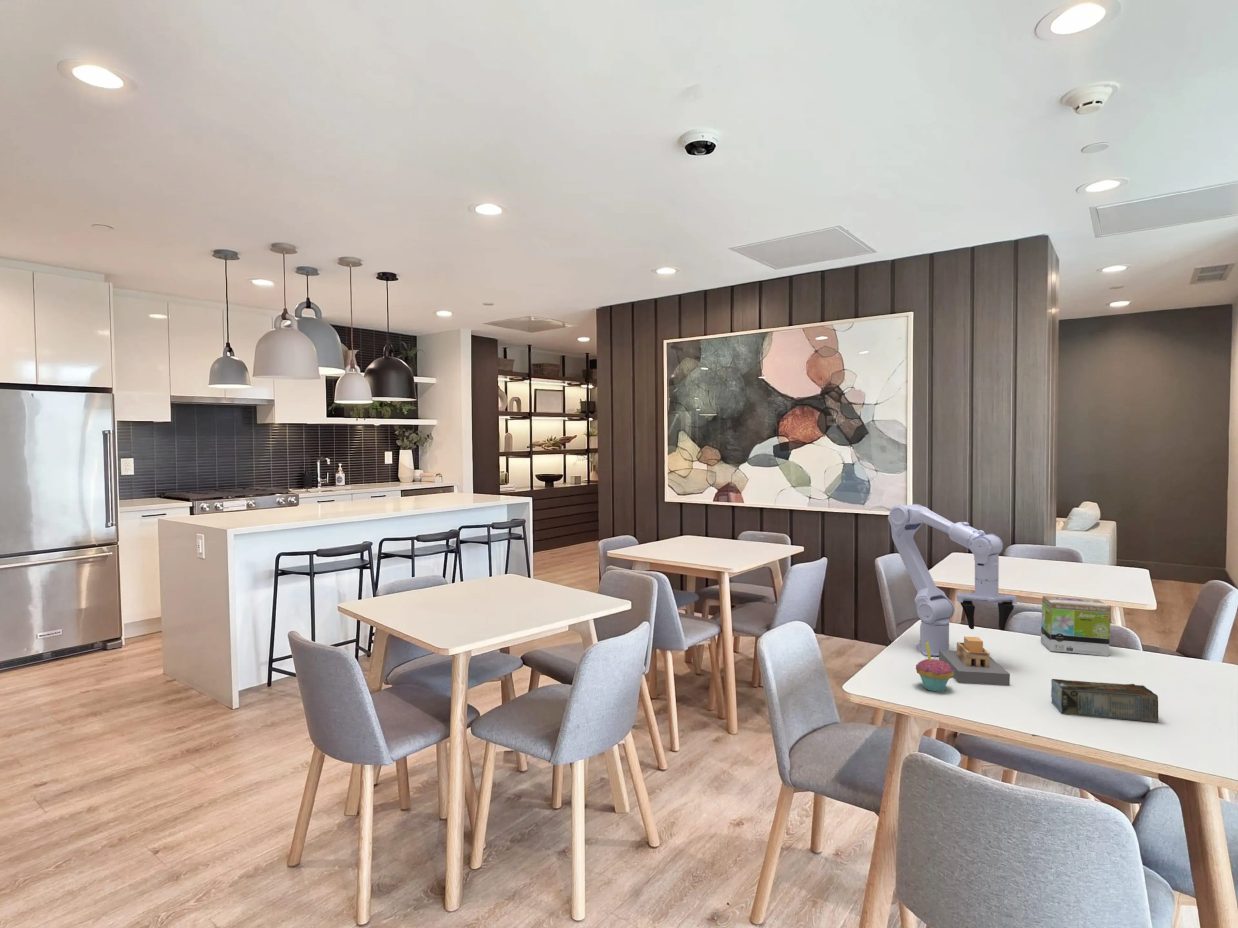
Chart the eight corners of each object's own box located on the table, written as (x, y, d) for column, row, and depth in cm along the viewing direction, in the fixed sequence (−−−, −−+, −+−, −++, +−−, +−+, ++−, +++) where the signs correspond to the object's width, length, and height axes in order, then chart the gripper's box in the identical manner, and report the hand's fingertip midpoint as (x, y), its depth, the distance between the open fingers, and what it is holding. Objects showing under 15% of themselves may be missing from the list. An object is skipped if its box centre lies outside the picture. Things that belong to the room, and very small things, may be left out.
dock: (939, 660, 193) (939, 650, 193) (985, 663, 191) (985, 652, 191) (958, 682, 176) (958, 671, 175) (1009, 685, 173) (1009, 673, 173)
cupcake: (914, 690, 170) (914, 642, 170) (917, 680, 178) (917, 633, 177) (952, 696, 166) (953, 647, 166) (954, 685, 174) (954, 638, 173)
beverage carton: (1049, 702, 163) (1049, 674, 163) (1144, 711, 158) (1145, 682, 157) (1060, 714, 155) (1061, 685, 155) (1160, 724, 150) (1161, 694, 150)
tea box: (1050, 652, 201) (1051, 602, 200) (1040, 643, 210) (1041, 594, 210) (1110, 657, 196) (1111, 605, 196) (1097, 647, 206) (1098, 597, 205)
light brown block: (963, 647, 186) (964, 636, 185) (977, 648, 185) (978, 637, 185) (968, 651, 182) (968, 640, 182) (982, 652, 181) (983, 641, 181)
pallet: (956, 655, 188) (956, 642, 188) (977, 656, 187) (978, 643, 187) (967, 666, 179) (967, 652, 179) (989, 667, 178) (989, 653, 178)
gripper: (962, 581, 185) (962, 631, 185) (1021, 582, 182) (1021, 633, 183) (954, 576, 192) (954, 624, 192) (1011, 577, 189) (1011, 626, 189)
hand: (986, 628), depth 188 cm, fingers open, 7 cm apart
